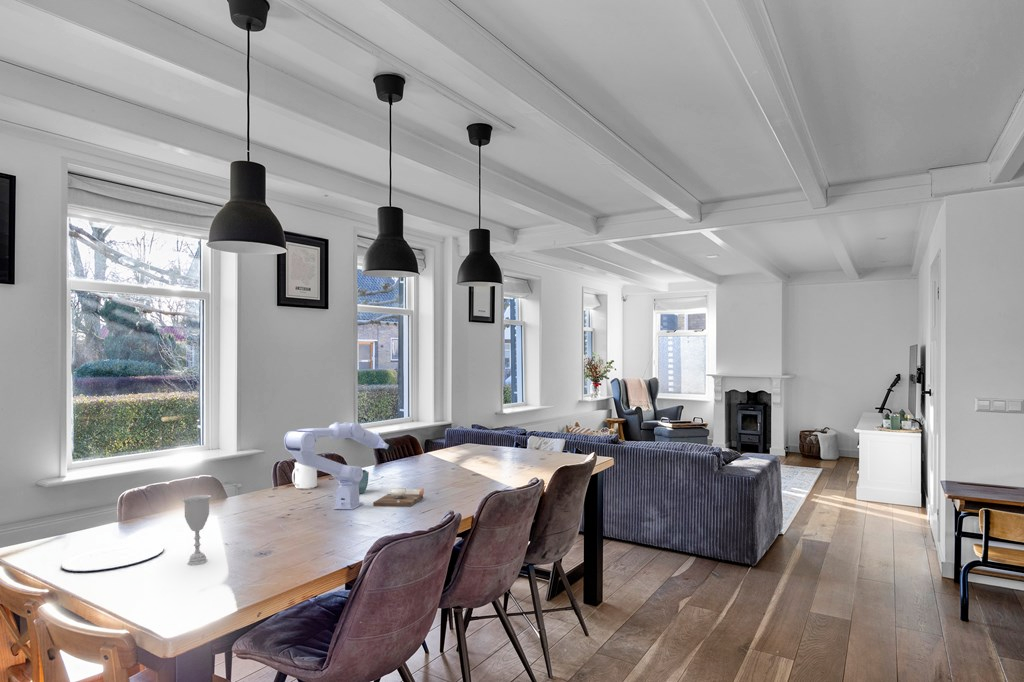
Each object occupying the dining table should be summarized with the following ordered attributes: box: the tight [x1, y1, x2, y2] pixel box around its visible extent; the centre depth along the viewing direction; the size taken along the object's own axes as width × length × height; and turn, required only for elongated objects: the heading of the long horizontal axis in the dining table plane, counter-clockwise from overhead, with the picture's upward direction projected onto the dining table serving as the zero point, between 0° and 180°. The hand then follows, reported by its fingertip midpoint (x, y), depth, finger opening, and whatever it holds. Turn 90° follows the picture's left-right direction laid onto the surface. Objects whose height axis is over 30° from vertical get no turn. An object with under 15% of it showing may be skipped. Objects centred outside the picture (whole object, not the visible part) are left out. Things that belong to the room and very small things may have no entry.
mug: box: [291, 461, 318, 489], centre depth 271 cm, size 10×12×12 cm
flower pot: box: [359, 469, 370, 494], centre depth 258 cm, size 9×9×9 cm
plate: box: [60, 542, 165, 573], centre depth 175 cm, size 25×25×1 cm
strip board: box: [372, 493, 424, 508], centre depth 238 cm, size 15×15×3 cm
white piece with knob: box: [390, 487, 425, 496], centre depth 237 cm, size 13×6×2 cm, turn 80°
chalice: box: [182, 494, 212, 566], centre depth 170 cm, size 7×7×18 cm
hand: (387, 447), depth 253 cm, fingers open, 7 cm apart
